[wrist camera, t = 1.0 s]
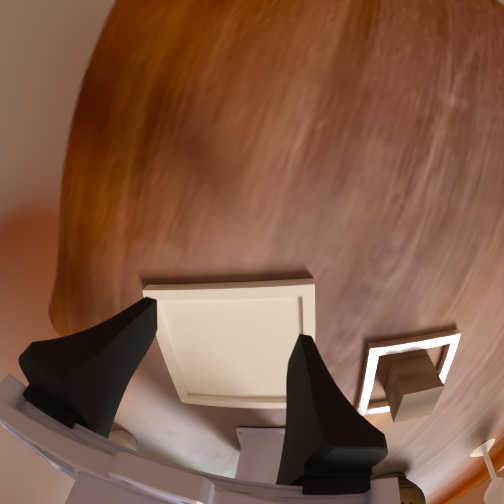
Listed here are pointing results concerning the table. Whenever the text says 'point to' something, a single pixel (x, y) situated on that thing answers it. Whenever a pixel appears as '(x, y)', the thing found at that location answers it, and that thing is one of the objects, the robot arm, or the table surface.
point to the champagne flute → (500, 490)
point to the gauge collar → (400, 346)
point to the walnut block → (412, 388)
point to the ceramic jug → (406, 489)
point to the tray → (232, 338)
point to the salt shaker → (123, 439)
